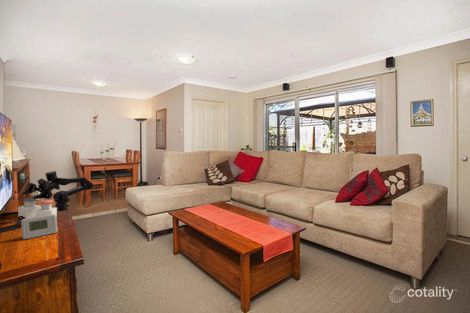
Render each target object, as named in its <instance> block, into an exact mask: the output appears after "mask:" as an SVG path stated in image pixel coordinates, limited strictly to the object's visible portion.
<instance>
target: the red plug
mask: <svg viewBox="0 0 470 313" xmlns="http://www.w3.org/2000/svg"><path fill="white" fill-rule="evenodd" d="M53 201H54V200H52V199H44V200H41V201H40V204H41V205H40V206H41V210H50V209H52V208H53Z"/></svg>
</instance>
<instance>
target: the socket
mask: <svg viewBox="0 0 470 313" xmlns="http://www.w3.org/2000/svg"><path fill="white" fill-rule="evenodd" d="M40 208H41V205H37V204H35V206H33V207H24V205H21V206H18V209H17V210H18V212H17V214H18V215H17V216H18V217H19V216H23V217H25V218H24V219H26V218H31V217H35V214H36V210H38V209H40ZM19 218H20V217H19Z"/></svg>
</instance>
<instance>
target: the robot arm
mask: <svg viewBox="0 0 470 313" xmlns="http://www.w3.org/2000/svg"><path fill="white" fill-rule="evenodd" d="M44 175H45V178H46V179H44V178H40V179H38V180H37V181H36V182H37V183H38V185H37V184H35V183H33V182H29V183H28V185H27V186H28V188H26V190H24V191H23V192H22V195H27V194H33V193H35V192H38V193H39V194H36V195H35V196H33V197H32V198H33V199H36V200H39V199H40V200H42V199H44V200H51V198H53V201H54V202H55V203H56V204H55V207H57V212H58V211H59V212H60V211H61V212H62V211H66V210H69V208H67V207H68V203H69V201H70V198H69V197H70V196H73V195H76V194H78V193H81V192H83V191H90V190H92V189H93V188H94V183H93V182H92V181H90V180H88V179H87V178H86V177H84V176H83V177H82V176H81V177H72V178H71V177H70V178H66V177H65V178H64V177H58V175H57V171H56V170H55V171H49V172H48V171H47V172H45V173H44ZM76 183H79V184H80V185H79V186H76V187H73V188H71V189H69V190H61V189H60V188H61V186H63V187H64V186H67V185H69V184H76ZM52 190H58V191H56V192H55V193H54V194H53V191H52Z"/></svg>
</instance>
